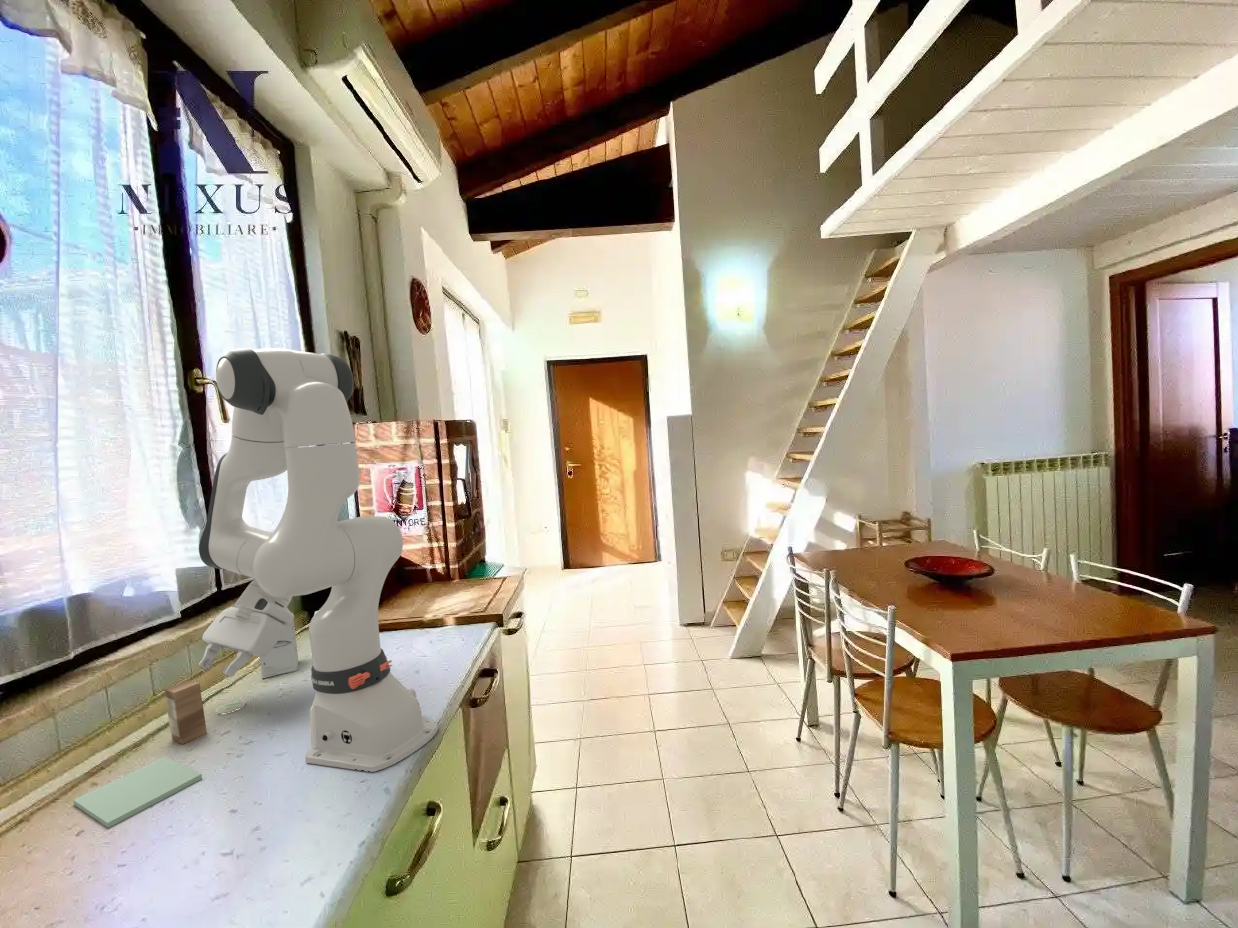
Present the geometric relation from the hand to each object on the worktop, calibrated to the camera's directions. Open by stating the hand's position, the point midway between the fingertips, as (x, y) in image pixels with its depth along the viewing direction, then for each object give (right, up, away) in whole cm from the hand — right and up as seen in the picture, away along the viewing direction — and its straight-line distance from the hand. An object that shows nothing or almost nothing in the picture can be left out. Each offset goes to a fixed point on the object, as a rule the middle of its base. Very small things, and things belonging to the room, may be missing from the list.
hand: (214, 671), depth 109 cm
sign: (-2, -10, +11) cm, 15 cm away
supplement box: (-2, -9, +24) cm, 26 cm away
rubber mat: (+3, -12, -21) cm, 24 cm away
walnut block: (-2, -11, -4) cm, 12 cm away
